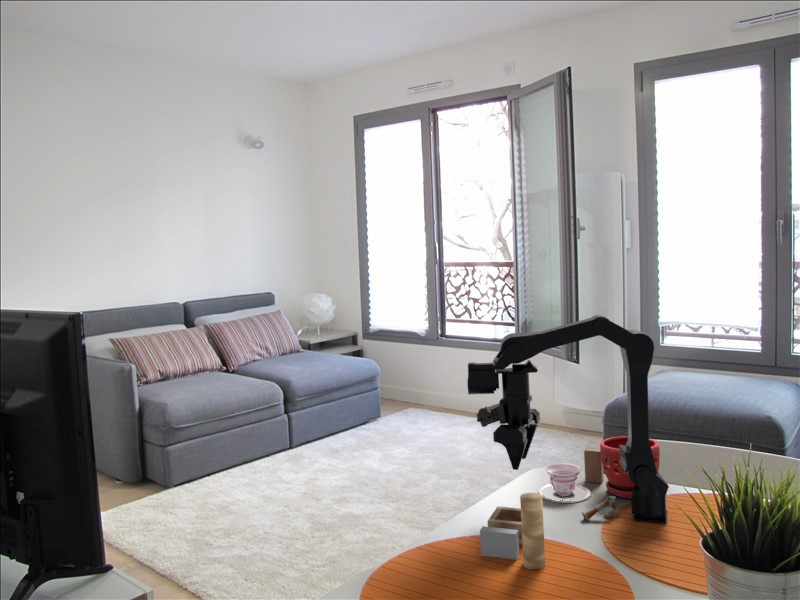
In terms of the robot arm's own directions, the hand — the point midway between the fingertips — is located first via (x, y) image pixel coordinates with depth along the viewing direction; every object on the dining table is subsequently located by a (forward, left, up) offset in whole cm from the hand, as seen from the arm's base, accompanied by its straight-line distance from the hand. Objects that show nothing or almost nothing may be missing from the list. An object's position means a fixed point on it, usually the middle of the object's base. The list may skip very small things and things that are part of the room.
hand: (519, 463), depth 148 cm
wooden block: (-12, -27, -12) cm, 32 cm away
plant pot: (-21, -21, -12) cm, 32 cm away
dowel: (-7, +21, -12) cm, 25 cm away
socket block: (0, +9, -12) cm, 15 cm away
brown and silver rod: (-16, -4, -12) cm, 21 cm away
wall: (0, +19, -12) cm, 22 cm away
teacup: (-7, -16, -12) cm, 22 cm away
